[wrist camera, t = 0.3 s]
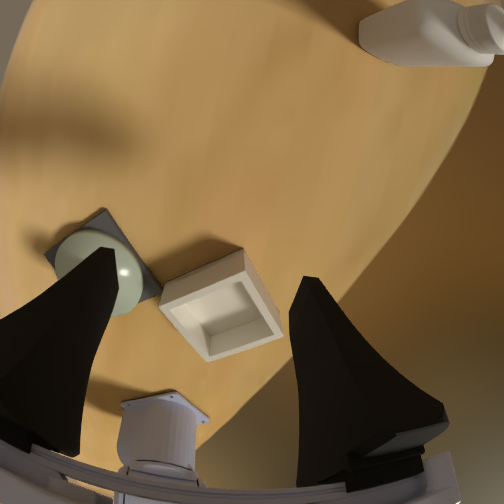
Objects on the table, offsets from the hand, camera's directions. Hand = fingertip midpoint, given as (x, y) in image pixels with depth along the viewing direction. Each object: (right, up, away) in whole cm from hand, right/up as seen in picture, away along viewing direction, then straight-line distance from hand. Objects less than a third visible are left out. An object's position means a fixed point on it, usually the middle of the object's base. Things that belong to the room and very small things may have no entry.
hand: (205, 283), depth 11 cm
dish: (-1, -3, +13) cm, 13 cm away
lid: (-11, -1, +11) cm, 15 cm away
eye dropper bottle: (+11, +16, +4) cm, 20 cm away
